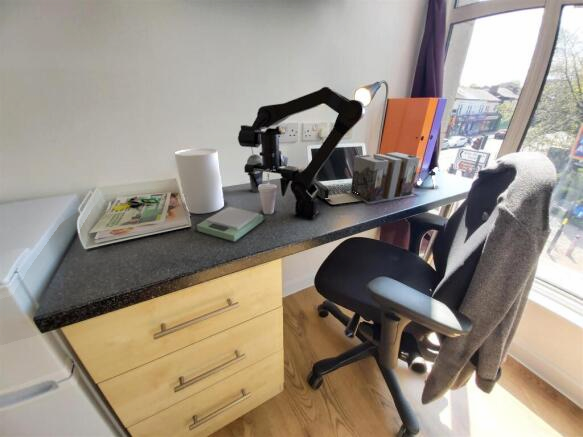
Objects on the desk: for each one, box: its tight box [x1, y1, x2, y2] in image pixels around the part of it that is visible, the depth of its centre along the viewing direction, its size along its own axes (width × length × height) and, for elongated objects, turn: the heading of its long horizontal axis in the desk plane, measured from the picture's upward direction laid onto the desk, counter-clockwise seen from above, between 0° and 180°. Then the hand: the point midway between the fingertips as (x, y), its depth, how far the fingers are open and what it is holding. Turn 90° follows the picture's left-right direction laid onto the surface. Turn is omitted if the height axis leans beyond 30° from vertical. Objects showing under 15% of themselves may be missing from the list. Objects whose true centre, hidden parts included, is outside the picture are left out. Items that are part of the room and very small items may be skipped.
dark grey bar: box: [314, 180, 332, 202], centre depth 98 cm, size 5×3×15 cm
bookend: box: [345, 151, 421, 205], centre depth 98 cm, size 16×25×16 cm, turn 113°
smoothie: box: [258, 173, 278, 215], centre depth 81 cm, size 6×6×14 cm
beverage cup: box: [246, 147, 264, 193], centre depth 101 cm, size 7×7×20 cm
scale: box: [196, 206, 264, 243], centre depth 74 cm, size 14×15×3 cm
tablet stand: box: [415, 167, 439, 190], centre depth 109 cm, size 9×8×8 cm
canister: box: [174, 147, 225, 215], centre depth 84 cm, size 14×14×20 cm
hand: (271, 193), depth 83 cm, fingers open, 9 cm apart
